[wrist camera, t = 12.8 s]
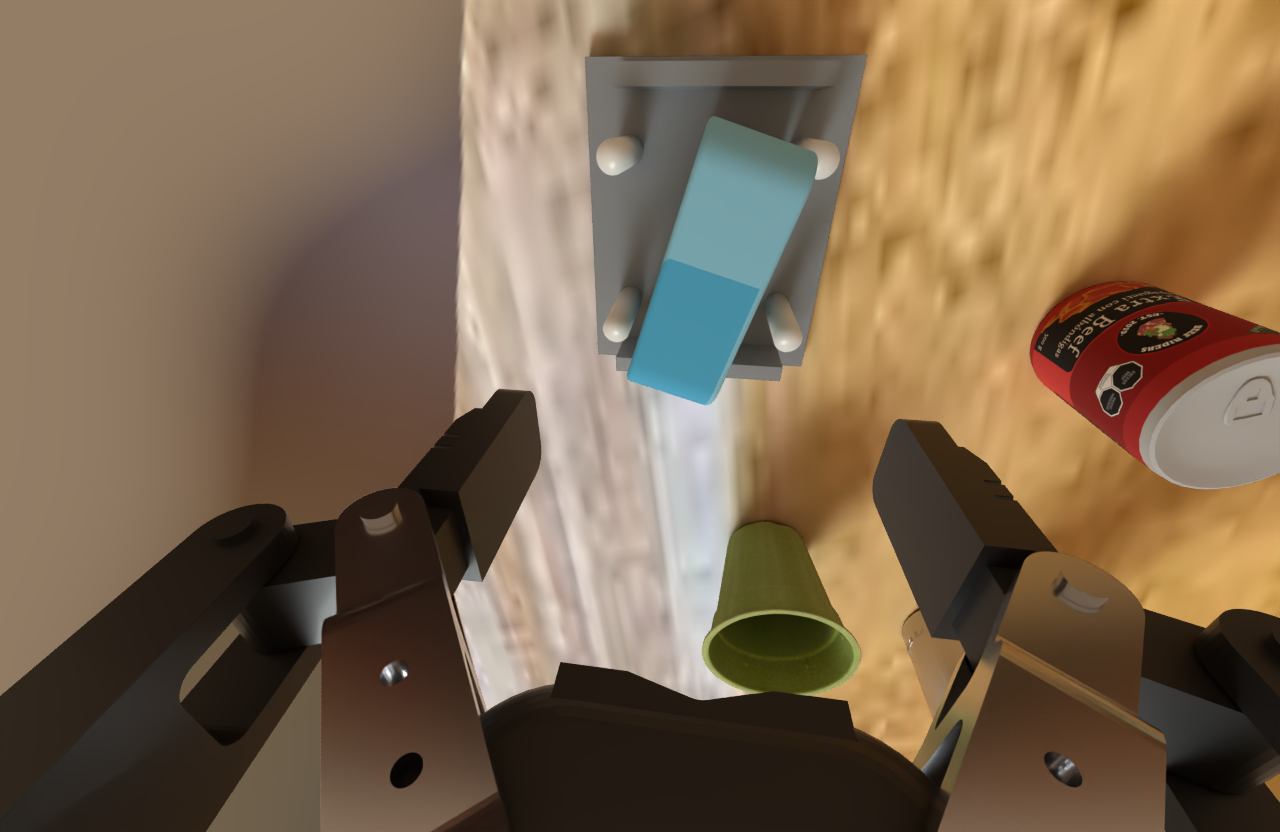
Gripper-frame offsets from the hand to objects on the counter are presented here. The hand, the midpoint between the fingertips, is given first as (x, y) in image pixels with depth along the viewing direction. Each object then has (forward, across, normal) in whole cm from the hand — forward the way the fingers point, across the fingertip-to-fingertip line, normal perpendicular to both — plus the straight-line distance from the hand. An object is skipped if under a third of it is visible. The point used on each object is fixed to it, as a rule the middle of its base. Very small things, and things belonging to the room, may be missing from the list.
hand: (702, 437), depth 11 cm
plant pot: (+24, -8, +29) cm, 39 cm away
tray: (+24, 0, 0) cm, 24 cm away
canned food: (+24, -26, +6) cm, 36 cm away
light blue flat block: (+23, 0, 0) cm, 23 cm away
